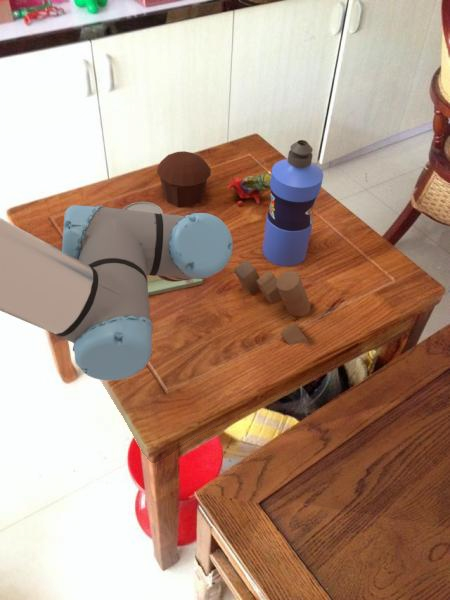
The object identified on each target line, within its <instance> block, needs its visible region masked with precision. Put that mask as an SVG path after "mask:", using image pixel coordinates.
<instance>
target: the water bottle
mask: <svg viewBox="0 0 450 600" xmlns="http://www.w3.org/2000/svg"><path fill="white" fill-rule="evenodd" d="M312 160H313V147H312V146H311V145H310V143H309V142H308V141H306V140H304V139H299V140H297V141H296V142H294V143H292V144H291V145H290V150H288V155H287V158H285V159H284V158H283V159H281V160H279V161H276V163H274V165H273V166H272V168H271V172H270V174H271V180H270V188H271V190H270V204H269V208H268V210H267V213H266V220H265V226H264V235H263V242H262V254H263V256H264V258H265V259H266V260H267V261H268V262H270V263H272V264H273V265H276V266H280V267H294V266H298V265H300V264H301V263H303V262H304V261H305V259H306V258H307V252H308V249H309V248H308V247H309V245H310V244H309V243H310V238H311V235H312V229H313V224H314V208H315V205H316V203H317V199H318V198H319V197H318V196H319V195H320V194H321V188H322V184H323V181H324V180H323V179H324V172H323V170H322V169H321V167H320V166H318V165H317V164H316V163H314V162H312Z"/></svg>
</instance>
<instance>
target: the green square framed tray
mask: <svg viewBox="0 0 450 600" xmlns="http://www.w3.org/2000/svg"><path fill="white" fill-rule="evenodd" d="M203 280H204V279H192V281H193V282H192V283H191V284H186V282H185V280H183V281H176V282H172V281H166V280H164V279H162V278H160V277H159V276H151V275H147V281H148V282H147V284H148V296H154V295H159V294H164V293H167V292H168V293H169V292H173V291H177V290H181V289H186V288H191V287H196V286H199V285H200V286H201V285H203V284H204V283H203Z"/></svg>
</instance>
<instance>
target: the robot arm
mask: <svg viewBox="0 0 450 600" xmlns="http://www.w3.org/2000/svg"><path fill="white" fill-rule="evenodd" d="M63 217H64V218H63V231H62V244H61V247H62V248H61V249H58V248H57V247H55V246H53V245H51V244H50V243H48V242H46V241H44V240H42V239H41V238H39V237H36V236H35V235H33V234H31V233H29V232H28V231H25V230H24V229H22V228H20V227H18V226H16V225H15V224H12V223H11V222H9V221H7V220H5V219H3V218H1V217H0V312H2V313H4V314H7V315H8V316H9V315H10V316H11V317H14V318H16V319H18V320H21V321H23V322H25V323H27V324H31V325H33V326H35V327H37V328H39V329H41V330H44V331H46V332H49V333H51V334H53V335H55V336H57V337H59V338H62V339H64V340H66V341H68V342H69V343H73V346H72V352H73V354H74V360H75V364H76V365H77V367H78V368H79V369H80V370H82V373H83V374H85V376H88V377H90V378H92V379H95V380H100V381H109V382H110V381H112V382H113V381H121V380H125V379H128V378H130V377H133V376H135V375H137V374H138V373H139V372H141V371H143V369H145V368H146V366H147V365H148V364H149V362H150V360H151V356H152V349H153V348H152V347H153V346H152V345H153V343H152V342H153V323H152V319H151V309H150V308H151V307H150V297H149V296H148V284H147V282H148V281H147V275H151V276H159V277H160V278H162V279H164V280H166V281H172V282H176V281H183V280H185V282H186V284H191V283H192V282H193V281H192V279H202V280H207V278H208V279H209V278H211V277H212V276H215V275H217V274H218V273H220V272H221V271H222V270H223V269H224V268H225V267H226V266H227V265H228V264H229V261H230V260H231V258H232V255H233V250H234V242H233V241H234V240H233V237H232V236H233V235H232V233H231V231H230V229H229V227H228V226H227V225H226V223H225V222H224V221H223V220H222V219H220V218H219V217H218V216H216V215H214V214H211V213H206V212H193V213H191V214H186V215H177V214H169V213H163V214H161V213H160V214H156V213H149V212H141V211H133V210H125V209H123V208H118V207H116V208H115V207H108V206H104V205H96V206H91V205H77V204H74V205H70V206H69V207H67V209H66V210H65V211H64V215H63Z"/></svg>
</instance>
